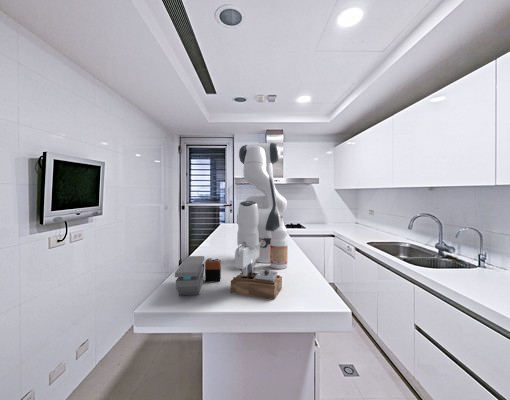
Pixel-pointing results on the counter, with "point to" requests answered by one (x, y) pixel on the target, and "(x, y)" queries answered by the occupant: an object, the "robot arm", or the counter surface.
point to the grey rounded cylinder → (249, 271)
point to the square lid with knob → (267, 275)
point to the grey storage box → (190, 276)
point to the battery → (212, 270)
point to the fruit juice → (279, 247)
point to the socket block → (256, 286)
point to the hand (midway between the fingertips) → (247, 273)
